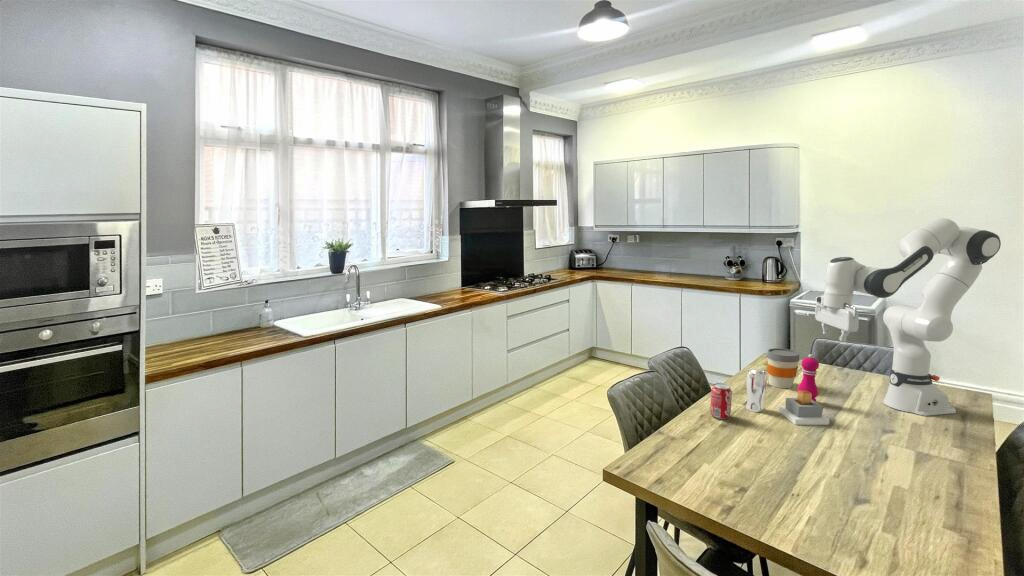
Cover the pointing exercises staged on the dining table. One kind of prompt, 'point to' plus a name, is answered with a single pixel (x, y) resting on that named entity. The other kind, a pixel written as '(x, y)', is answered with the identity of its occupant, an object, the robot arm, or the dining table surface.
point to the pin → (804, 398)
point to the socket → (803, 413)
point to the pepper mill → (809, 376)
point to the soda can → (721, 401)
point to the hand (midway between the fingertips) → (834, 338)
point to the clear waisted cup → (755, 389)
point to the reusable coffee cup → (782, 367)
